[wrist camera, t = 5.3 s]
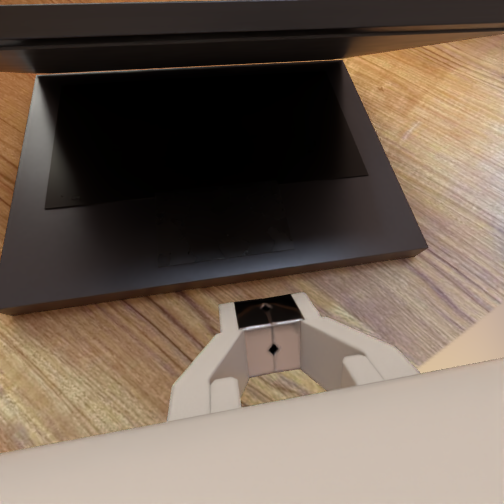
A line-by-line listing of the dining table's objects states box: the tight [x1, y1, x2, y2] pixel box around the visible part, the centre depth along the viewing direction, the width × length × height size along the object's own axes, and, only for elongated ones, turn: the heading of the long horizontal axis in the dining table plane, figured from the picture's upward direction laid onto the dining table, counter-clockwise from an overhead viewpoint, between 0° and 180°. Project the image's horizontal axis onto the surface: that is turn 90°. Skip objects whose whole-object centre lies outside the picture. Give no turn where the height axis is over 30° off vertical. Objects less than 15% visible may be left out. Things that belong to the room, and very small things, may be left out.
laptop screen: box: [0, 0, 504, 73], centre depth 18 cm, size 22×30×1 cm
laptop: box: [0, 60, 428, 316], centre depth 24 cm, size 22×30×2 cm
